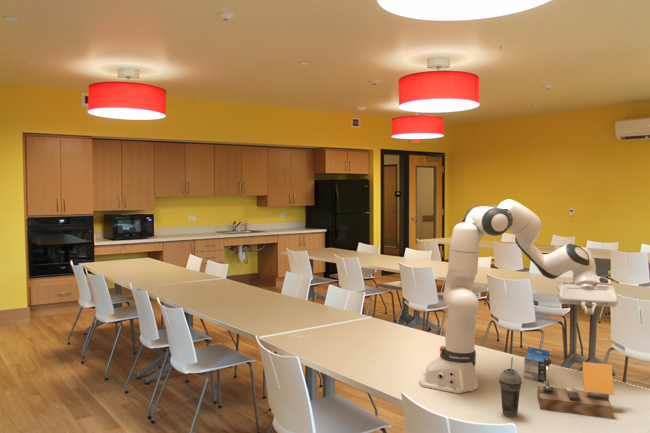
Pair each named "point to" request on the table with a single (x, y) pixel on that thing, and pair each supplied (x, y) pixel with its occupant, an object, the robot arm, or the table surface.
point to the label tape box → (535, 364)
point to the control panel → (573, 402)
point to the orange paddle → (598, 379)
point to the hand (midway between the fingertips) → (589, 313)
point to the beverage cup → (510, 391)
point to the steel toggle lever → (547, 376)
